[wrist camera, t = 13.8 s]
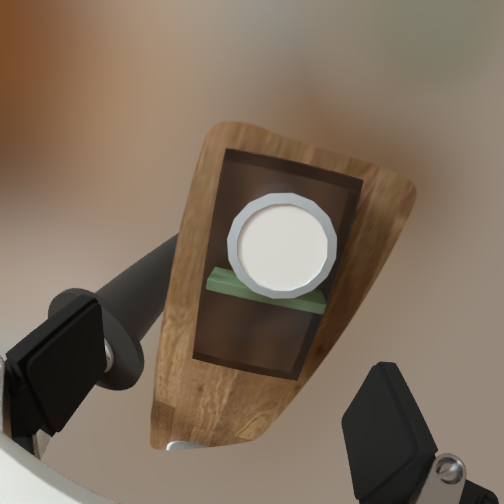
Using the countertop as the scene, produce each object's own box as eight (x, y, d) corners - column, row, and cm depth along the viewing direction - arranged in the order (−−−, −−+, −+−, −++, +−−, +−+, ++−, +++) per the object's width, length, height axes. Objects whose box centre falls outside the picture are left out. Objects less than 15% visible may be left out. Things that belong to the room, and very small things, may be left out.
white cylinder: (235, 257, 25) (220, 290, 18) (247, 179, 22) (234, 183, 16) (311, 270, 24) (323, 307, 18) (327, 194, 22) (348, 204, 16)
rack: (212, 311, 39) (184, 375, 26) (242, 154, 32) (218, 144, 19) (294, 329, 39) (298, 399, 25) (337, 176, 32) (375, 181, 19)
